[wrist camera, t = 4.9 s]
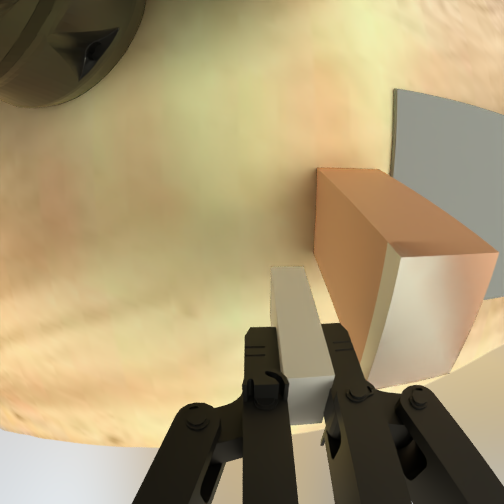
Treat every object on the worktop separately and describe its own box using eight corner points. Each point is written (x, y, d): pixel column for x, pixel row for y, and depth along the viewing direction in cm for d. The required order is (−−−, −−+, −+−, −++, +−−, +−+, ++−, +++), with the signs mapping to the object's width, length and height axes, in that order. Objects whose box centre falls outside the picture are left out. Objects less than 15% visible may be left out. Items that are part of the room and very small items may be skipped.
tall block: (317, 167, 22) (401, 257, 9) (379, 169, 22) (499, 252, 9) (313, 252, 25) (363, 391, 13) (369, 250, 25) (449, 373, 13)
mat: (393, 88, 19) (397, 88, 18) (542, 130, 19) (546, 131, 18) (368, 311, 28) (370, 314, 27) (505, 292, 28) (508, 295, 27)
